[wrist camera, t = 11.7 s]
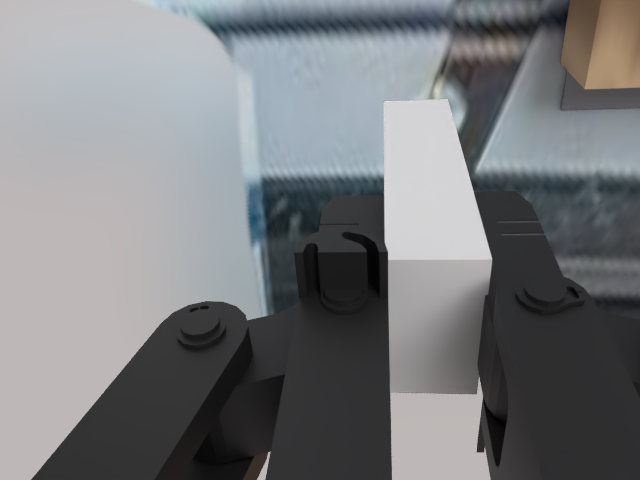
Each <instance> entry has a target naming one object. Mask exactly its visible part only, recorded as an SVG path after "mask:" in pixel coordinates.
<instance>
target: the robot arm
mask: <svg viewBox="0 0 640 480" xmlns="http://www.w3.org/2000/svg"><path fill="white" fill-rule="evenodd" d="M294 256H295V265H296V274H297V283H298V292H299V301H298V302H297V303H296V304H294V305H293V306H292V307H290V308H288V309H286V310H284V311H282V312H279V313H276V314H273V315H270V316H266V317H261V318H256V319H252V320H248V321H247V319H246V315H245V314H244V313H243V312H242V311H241V310H239V308H237V307H236V306H233V305H230V304H228V303H224V302H210V301H206V302H201V303H196V304H192V305H188V306H186V307H184V308H182V309H180V310H178V311H176V312H174V313H172V314H171V315H170V316H169V317H168V318H167V319H166V320H164V321H163V322H162V323H161V324H160V325H159V327H158V328H157V329H156V330H155V331H154V333H153V334H152V335H151V336H150V337H149V339H148V340H147V341H146V342H145V343H144V345H143V346H142V347H141V348H140V349H139V351H138V352H137V353H136V354H135V355H134V357H133V358H132V359H131V361H129V363H128V364H127V365H126V366H125V368H124V369H123V370H122V371H121V372H120V374H119V375H118V376H117V377H116V378H115V380H114V381H113V382H112V383H111V384H110V386H109V387H108V388H107V389H106V390H105V392H104V393H103V394H102V395H101V397H100V398H99V399H98V400H97V401H96V403H95V404H94V405H93V406H92V407H91V409H90V410H89V411H88V412H87V413H86V414H85V416H84V417H83V418H82V419H81V421H80V422H79V423H78V424H77V425H76V427H75V428H74V429H73V430H72V431H71V433H70V434H69V435H68V436H67V437H66V439H65V440H64V441H63V442H62V443H61V445H60V446H59V447H58V448H57V450H56V451H55V452H54V453H53V454H52V455H51V457H50V458H49V459H48V460H47V461H46V463H45V464H44V465H43V466H42V468H41V469H40V470H39V471H38V472H37V474H36V475H35V476H34V477H33V478H32V479H31V480H257V478H258V476H259V474H260V471H261V469H262V468H263V465H264V463H265V461H266V459H267V455H268V452H270V451H271V454H270V459H269V464H268V469H267V475H266V480H392V465H391V412H390V392H396V393H397V392H399V393H442V394H477V387H478V379H479V376H480V382H481V387H482V392H483V402H482V410H481V418H480V426H479V434H478V444H477V452H484V447H485V449H486V455H487V460H488V466H489V472H490V477H491V480H640V320H637V319H632V318H627V317H623V316H619V315H615V314H612V313H608V312H605V311H602V310H600V309H598V308H597V307H596V305H595V303H594V301H593V299H592V298H591V296H590V295H589V294H588V293H587V291H586V290H585V289H584V288H583V287H582V286H580V285H578V284H577V283H575V282H574V281H572V280H570V279H569V278H566V277H563V275H562V272H561V270H560V268H559V266H558V263H557V261H556V259H555V257H554V254H553V252H552V250H551V247H550V245H549V243H548V241H547V238H546V236H545V235H544V231H543V229H542V227H541V225H540V223H538V218H537V215H536V213H535V211H534V209H533V206H532V204H531V203H529V202H528V201H527V200H525V199H524V198H523V197H522V196H520V195H519V194H518V193H516V192H515V191H501V192H473V188H472V185H471V181H470V177H469V174H468V170H467V167H466V163H465V160H464V156H463V152H462V149H461V145H460V142H459V138H458V134H457V131H456V127H455V124H454V120H453V116H452V113H451V109H450V106H449V102H448V99H436V100H407V101H384V195H369V196H334V198H333V199H332V200H331V201H330V202H329V203H328V204H327V205H326V206H325V207H324V208H323V209H322V215H321V221H320V227H319V232H317V233H314V234H311V235H310V236H308V237H307V238H306V239H304V240H303V241H301V242H300V243H299V245H298V247H297V248H296V250H295V252H294Z"/></svg>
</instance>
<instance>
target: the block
mask: <svg viewBox="0 0 640 480" xmlns="http://www.w3.org/2000/svg"><path fill="white" fill-rule="evenodd" d="M560 64H561V65H562V66H563V67H564V68H565V69H566V70H567V71H568V72H569V73H570V74H571V75H572V76H573V77H574V78H575V80H576V81H577V82H578V83H579V84H580V85H581V86H582V87H583V88H584V89H611V88H640V0H570V4H569V10H568V17H567V23H566V29H565V36H564V42H563V48H562V54H561V61H560Z"/></svg>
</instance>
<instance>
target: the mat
mask: <svg viewBox="0 0 640 480" xmlns="http://www.w3.org/2000/svg"><path fill="white" fill-rule="evenodd" d="M619 108H640V88H611V89H584V88H583V87H582V86H581V85H580V84H579V83H578V82H577V81H576V80H575V78H574V77H573V76H572V75H571V74H570V73H569V72H568V71H567V74H566V80H565V86H564V92H563V98H562V104H561V110H586V109H619Z"/></svg>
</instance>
